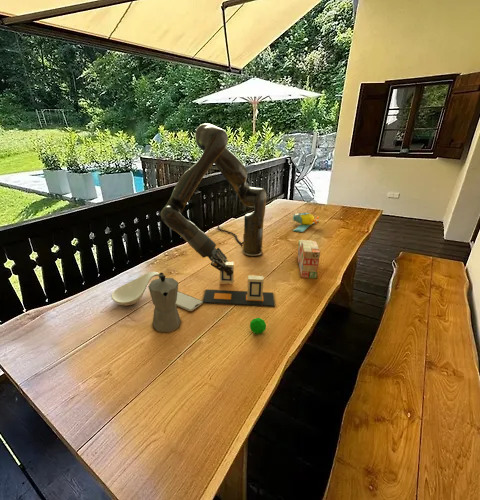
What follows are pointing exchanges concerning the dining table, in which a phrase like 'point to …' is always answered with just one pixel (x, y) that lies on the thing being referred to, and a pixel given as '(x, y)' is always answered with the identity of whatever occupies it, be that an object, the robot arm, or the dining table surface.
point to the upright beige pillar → (255, 287)
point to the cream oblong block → (224, 276)
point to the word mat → (237, 298)
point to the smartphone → (187, 301)
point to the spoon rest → (132, 290)
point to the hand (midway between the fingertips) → (231, 271)
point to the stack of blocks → (308, 258)
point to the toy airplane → (304, 221)
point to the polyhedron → (257, 325)
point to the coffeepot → (164, 303)
